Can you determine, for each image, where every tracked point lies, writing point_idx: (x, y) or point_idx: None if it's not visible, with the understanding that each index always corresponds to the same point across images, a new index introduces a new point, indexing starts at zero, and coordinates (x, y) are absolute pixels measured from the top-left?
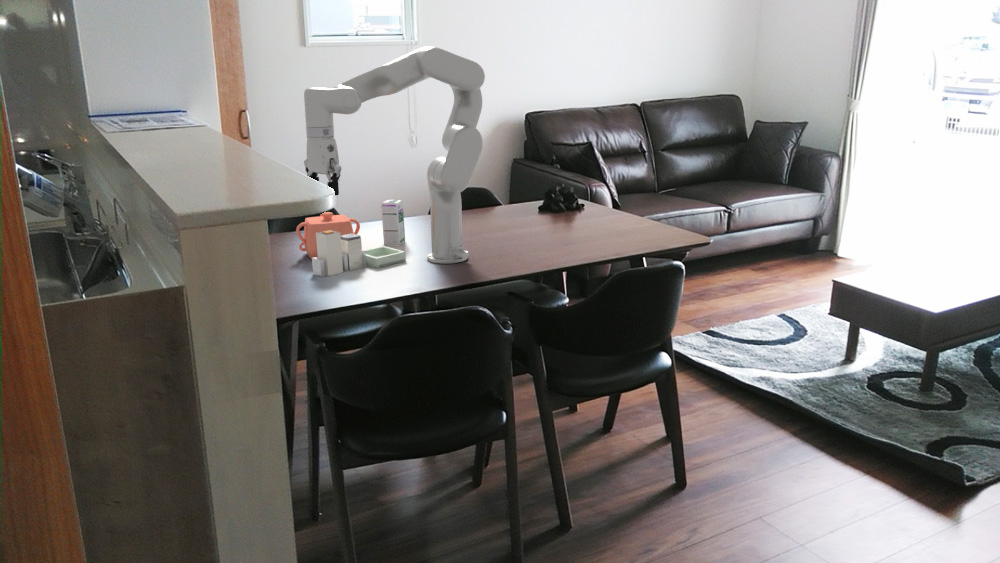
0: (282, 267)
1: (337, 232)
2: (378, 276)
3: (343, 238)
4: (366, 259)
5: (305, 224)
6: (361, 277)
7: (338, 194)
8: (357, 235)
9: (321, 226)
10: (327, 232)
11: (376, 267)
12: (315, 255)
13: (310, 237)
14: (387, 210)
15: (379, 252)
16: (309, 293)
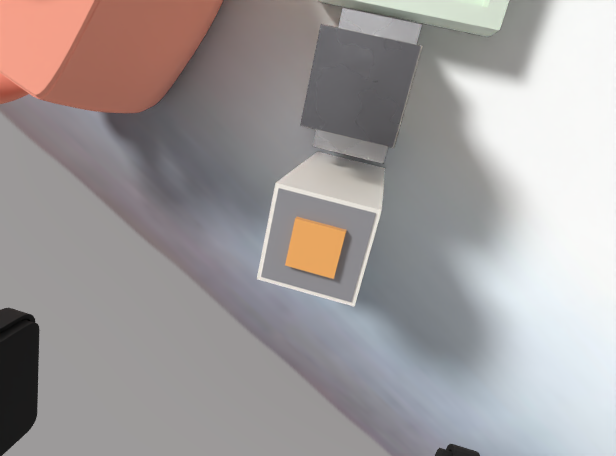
0: (140, 226)
1: (363, 214)
2: (573, 140)
3: (350, 137)
4: (407, 15)
5: None
6: (507, 188)
7: (474, 451)
8: (400, 53)
9: (86, 49)
10: (329, 267)
11: (483, 35)
12: (159, 97)
13: (96, 109)
14: None
15: None
16: (452, 413)
